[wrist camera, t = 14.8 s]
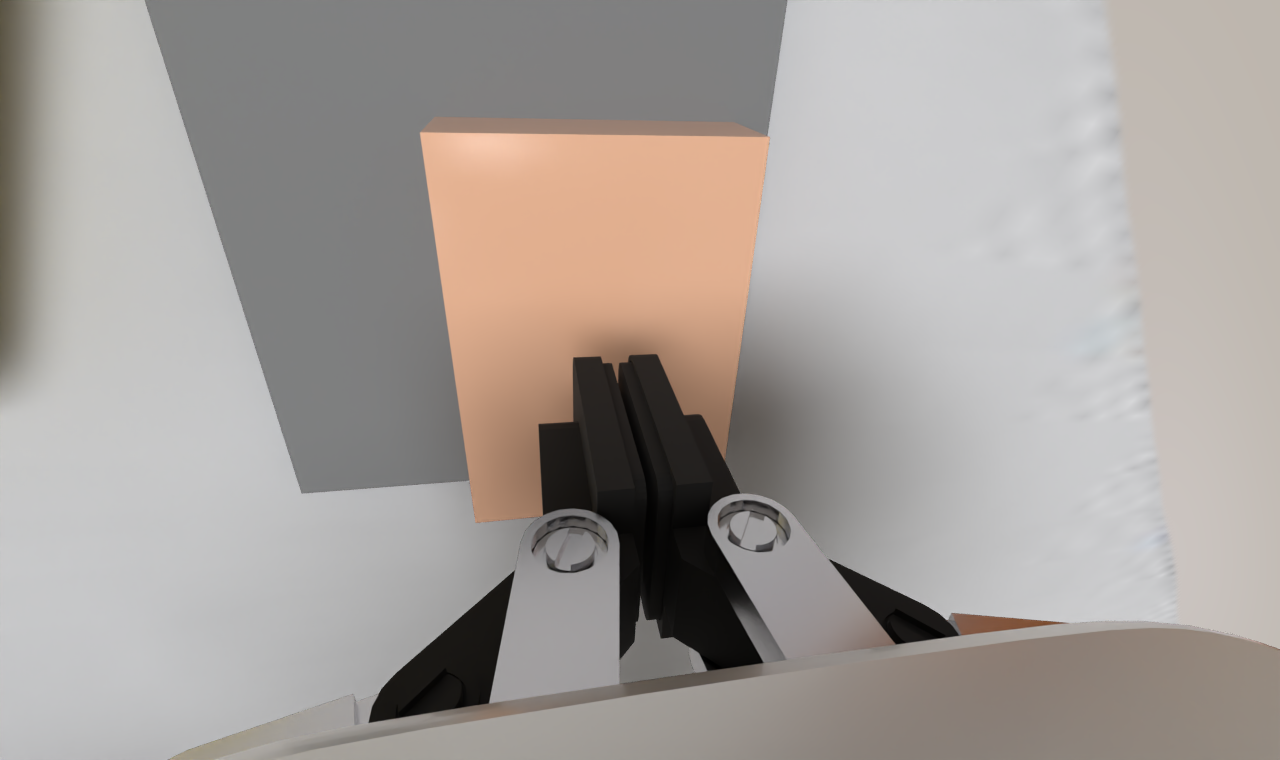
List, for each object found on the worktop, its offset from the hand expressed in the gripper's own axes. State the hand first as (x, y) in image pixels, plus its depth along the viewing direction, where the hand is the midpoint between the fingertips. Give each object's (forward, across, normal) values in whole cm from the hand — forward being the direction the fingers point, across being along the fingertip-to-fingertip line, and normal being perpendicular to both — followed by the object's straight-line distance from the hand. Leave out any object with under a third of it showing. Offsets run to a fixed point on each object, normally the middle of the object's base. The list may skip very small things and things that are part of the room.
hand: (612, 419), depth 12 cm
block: (+4, +3, 0) cm, 5 cm away
